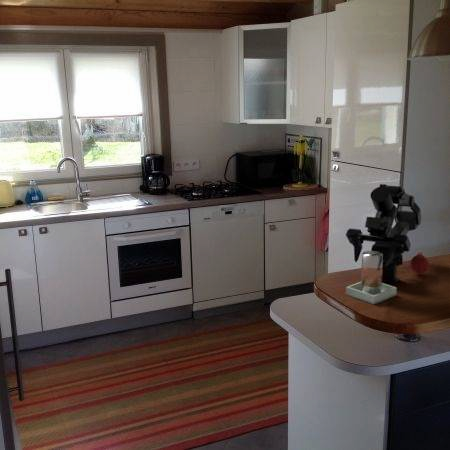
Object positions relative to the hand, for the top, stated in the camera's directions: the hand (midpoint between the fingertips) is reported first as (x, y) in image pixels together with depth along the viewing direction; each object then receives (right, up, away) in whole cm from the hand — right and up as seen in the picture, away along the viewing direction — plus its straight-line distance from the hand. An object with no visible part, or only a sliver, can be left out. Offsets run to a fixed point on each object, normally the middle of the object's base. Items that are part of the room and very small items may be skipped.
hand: (370, 263), depth 163 cm
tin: (+1, -9, +4) cm, 10 cm away
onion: (+21, -5, +19) cm, 29 cm away
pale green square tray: (+1, -10, +4) cm, 11 cm away
